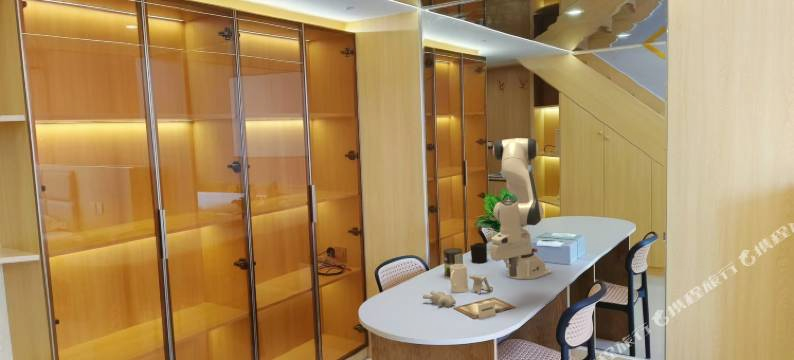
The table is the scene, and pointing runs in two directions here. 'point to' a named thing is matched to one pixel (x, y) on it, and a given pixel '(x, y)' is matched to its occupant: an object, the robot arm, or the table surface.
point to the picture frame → (472, 308)
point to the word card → (486, 309)
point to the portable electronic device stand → (480, 283)
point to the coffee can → (452, 259)
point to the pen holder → (479, 253)
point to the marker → (512, 267)
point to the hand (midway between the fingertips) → (512, 266)
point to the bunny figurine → (441, 299)
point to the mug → (458, 278)
